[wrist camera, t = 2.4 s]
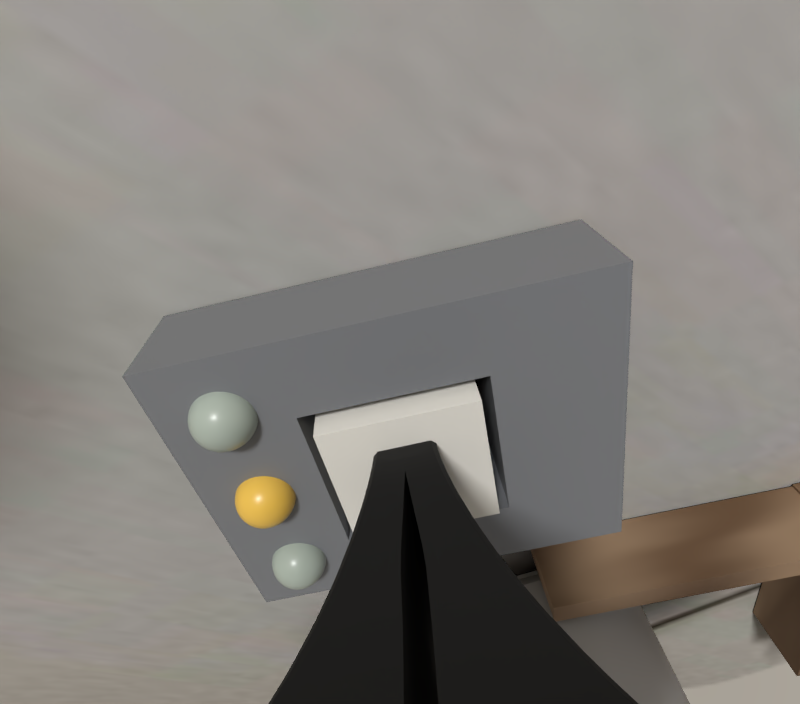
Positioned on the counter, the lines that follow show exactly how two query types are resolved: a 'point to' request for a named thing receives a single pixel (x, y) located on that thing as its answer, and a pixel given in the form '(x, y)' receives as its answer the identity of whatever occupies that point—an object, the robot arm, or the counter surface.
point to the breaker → (410, 442)
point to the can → (620, 649)
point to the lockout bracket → (688, 562)
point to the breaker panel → (402, 392)
